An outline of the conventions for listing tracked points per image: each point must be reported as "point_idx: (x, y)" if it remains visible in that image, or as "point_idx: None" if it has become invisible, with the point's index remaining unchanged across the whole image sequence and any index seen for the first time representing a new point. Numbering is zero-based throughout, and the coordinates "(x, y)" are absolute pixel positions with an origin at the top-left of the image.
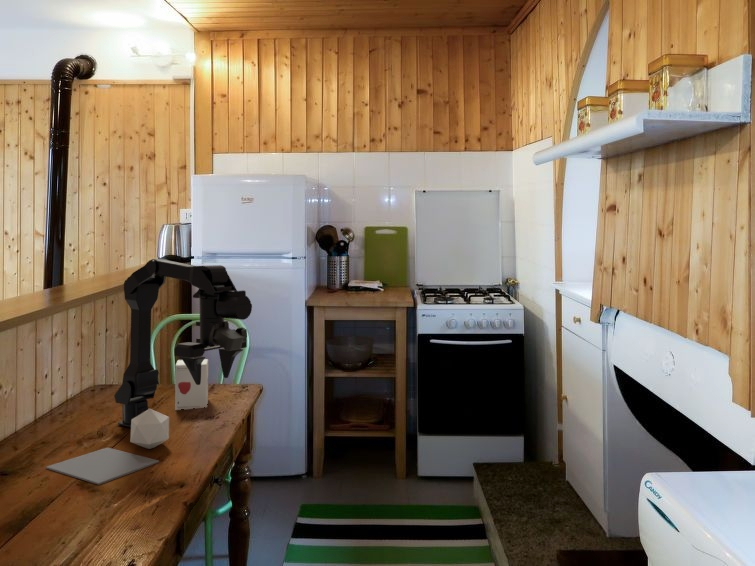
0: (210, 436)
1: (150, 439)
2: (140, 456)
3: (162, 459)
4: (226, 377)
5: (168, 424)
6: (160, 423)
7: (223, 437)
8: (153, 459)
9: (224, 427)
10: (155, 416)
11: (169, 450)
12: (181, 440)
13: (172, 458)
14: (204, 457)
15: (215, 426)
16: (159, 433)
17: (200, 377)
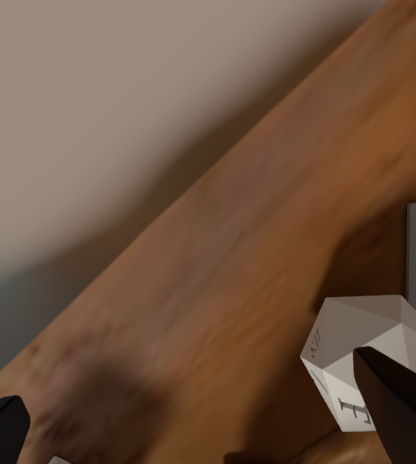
0: (157, 295)
1: (403, 301)
2: (412, 277)
3: (381, 221)
4: (18, 399)
5: (327, 340)
6: (402, 322)
7: (134, 258)
8: (411, 227)
9: (77, 334)
10: (410, 368)
11: (316, 274)
12: (238, 323)
13: (359, 206)
14: (294, 136)
15: (93, 359)
16: (379, 306)
17: (407, 390)
